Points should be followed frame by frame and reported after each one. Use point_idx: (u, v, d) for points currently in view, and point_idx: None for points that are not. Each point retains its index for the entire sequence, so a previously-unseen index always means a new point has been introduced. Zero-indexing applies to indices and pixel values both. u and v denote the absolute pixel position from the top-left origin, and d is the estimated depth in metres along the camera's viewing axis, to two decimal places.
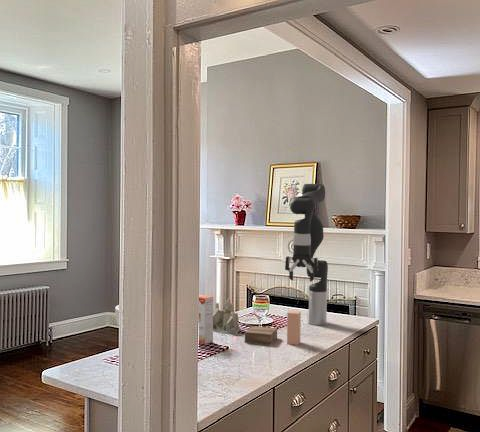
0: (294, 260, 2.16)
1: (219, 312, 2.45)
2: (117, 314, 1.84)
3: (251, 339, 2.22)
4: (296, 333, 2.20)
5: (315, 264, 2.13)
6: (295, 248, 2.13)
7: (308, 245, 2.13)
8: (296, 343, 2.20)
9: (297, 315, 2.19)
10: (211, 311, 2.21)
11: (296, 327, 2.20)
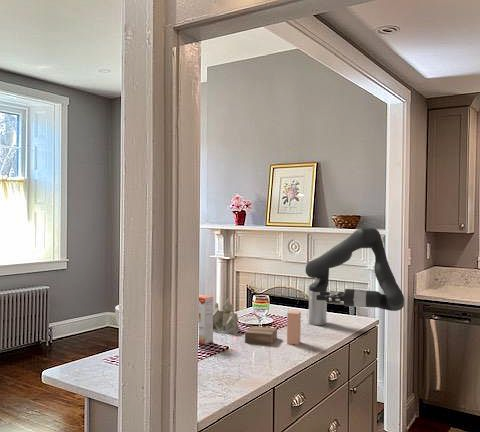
0: None
1: (218, 312, 2.44)
2: (117, 314, 1.84)
3: (252, 339, 2.22)
4: (296, 333, 2.20)
5: None
6: (350, 306, 2.12)
7: None
8: (296, 343, 2.20)
9: (297, 315, 2.19)
10: (211, 311, 2.21)
11: (296, 327, 2.20)
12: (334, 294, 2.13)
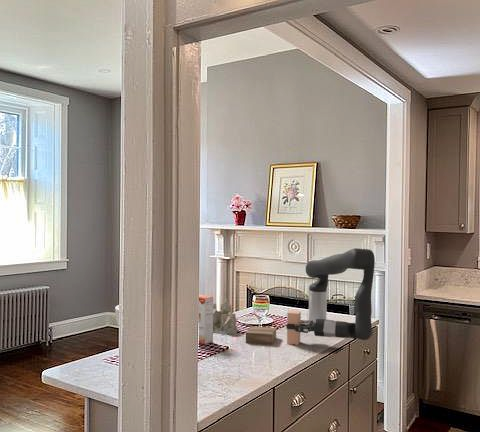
0: None
1: (217, 313, 2.43)
2: (117, 314, 1.84)
3: (253, 339, 2.21)
4: (296, 333, 2.20)
5: None
6: None
7: None
8: (296, 343, 2.20)
9: (297, 315, 2.19)
10: (211, 311, 2.21)
11: None
12: (304, 324, 2.18)
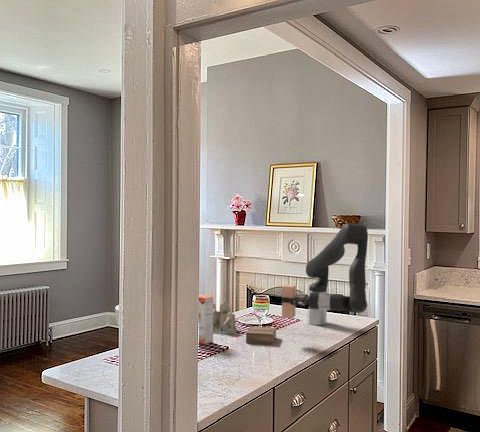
0: None
1: (216, 313, 2.43)
2: (117, 314, 1.84)
3: (253, 339, 2.21)
4: (291, 306, 2.20)
5: None
6: (315, 308, 2.17)
7: None
8: (291, 316, 2.20)
9: (292, 288, 2.20)
10: (211, 311, 2.21)
11: None
12: (298, 297, 2.19)
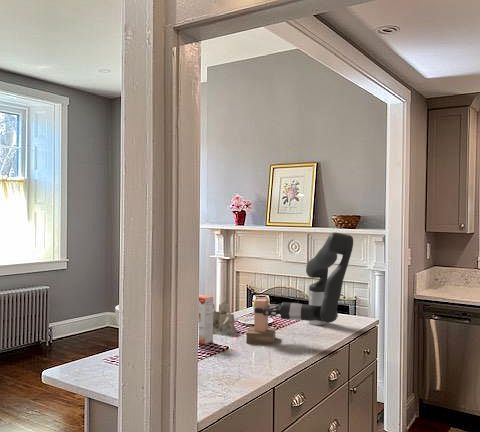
0: None
1: (215, 313, 2.42)
2: (117, 314, 1.84)
3: (253, 340, 2.21)
4: (263, 320, 2.23)
5: None
6: None
7: None
8: (263, 330, 2.24)
9: (264, 303, 2.23)
10: (211, 311, 2.21)
11: None
12: (271, 307, 2.21)
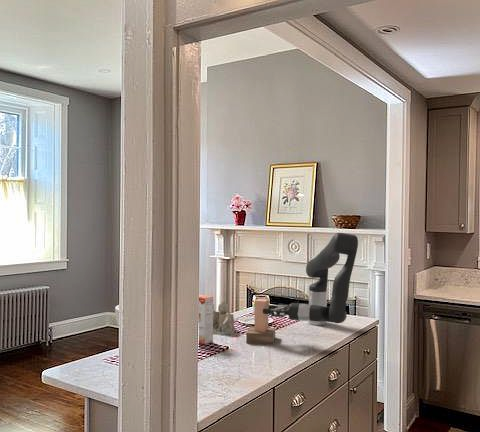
0: None
1: (214, 313, 2.42)
2: (117, 314, 1.84)
3: (253, 340, 2.21)
4: (263, 320, 2.23)
5: None
6: (295, 319, 2.19)
7: None
8: (263, 330, 2.24)
9: (264, 303, 2.23)
10: (211, 311, 2.21)
11: (263, 315, 2.23)
12: (280, 308, 2.20)
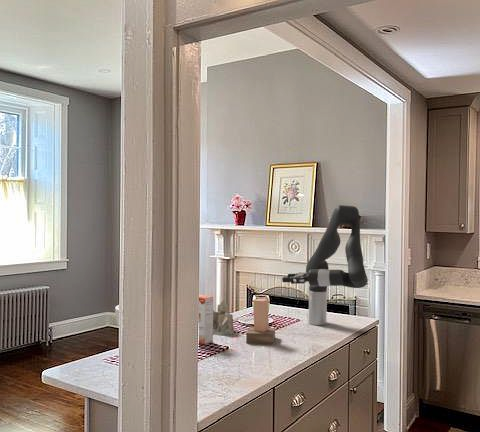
0: None
1: (213, 313, 2.42)
2: (117, 314, 1.84)
3: (253, 340, 2.21)
4: (262, 320, 2.23)
5: None
6: (316, 285, 2.17)
7: None
8: (262, 330, 2.23)
9: (262, 302, 2.23)
10: (211, 311, 2.21)
11: (261, 314, 2.23)
12: (299, 275, 2.18)
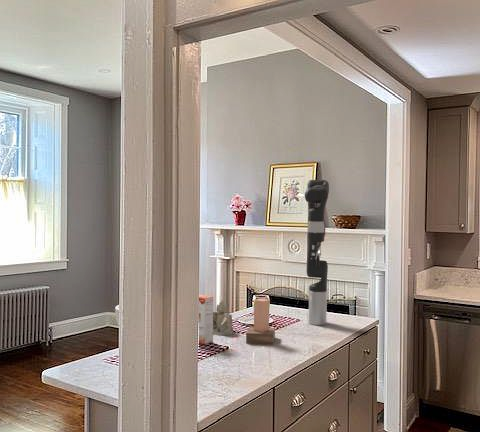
0: (317, 247, 2.23)
1: (213, 313, 2.41)
2: (117, 314, 1.84)
3: (253, 340, 2.21)
4: (261, 320, 2.23)
5: None
6: (322, 235, 2.24)
7: None
8: (261, 330, 2.23)
9: (262, 303, 2.23)
10: (211, 311, 2.21)
11: (261, 314, 2.23)
12: None
